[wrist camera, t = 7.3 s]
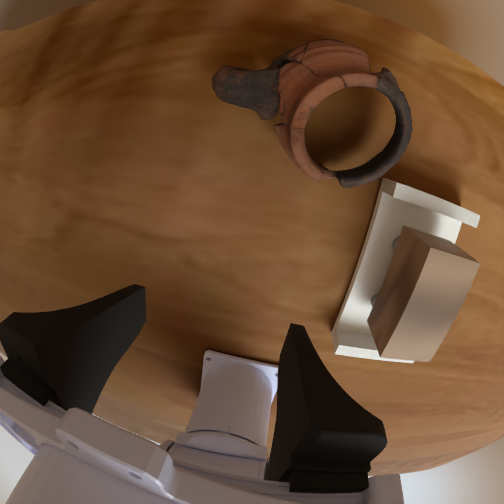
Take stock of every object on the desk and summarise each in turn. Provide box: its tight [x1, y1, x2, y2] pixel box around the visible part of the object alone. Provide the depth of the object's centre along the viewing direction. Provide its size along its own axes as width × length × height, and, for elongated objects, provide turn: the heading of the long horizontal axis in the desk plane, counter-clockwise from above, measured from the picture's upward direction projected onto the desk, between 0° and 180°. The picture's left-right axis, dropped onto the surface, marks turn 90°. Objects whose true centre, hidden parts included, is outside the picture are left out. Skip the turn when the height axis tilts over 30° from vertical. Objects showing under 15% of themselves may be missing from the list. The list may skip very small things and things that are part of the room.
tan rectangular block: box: [367, 226, 480, 362], centre depth 17 cm, size 8×4×4 cm, turn 169°
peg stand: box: [331, 178, 480, 363], centre depth 20 cm, size 14×8×3 cm, turn 169°
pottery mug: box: [212, 39, 412, 188], centre depth 15 cm, size 12×10×8 cm
